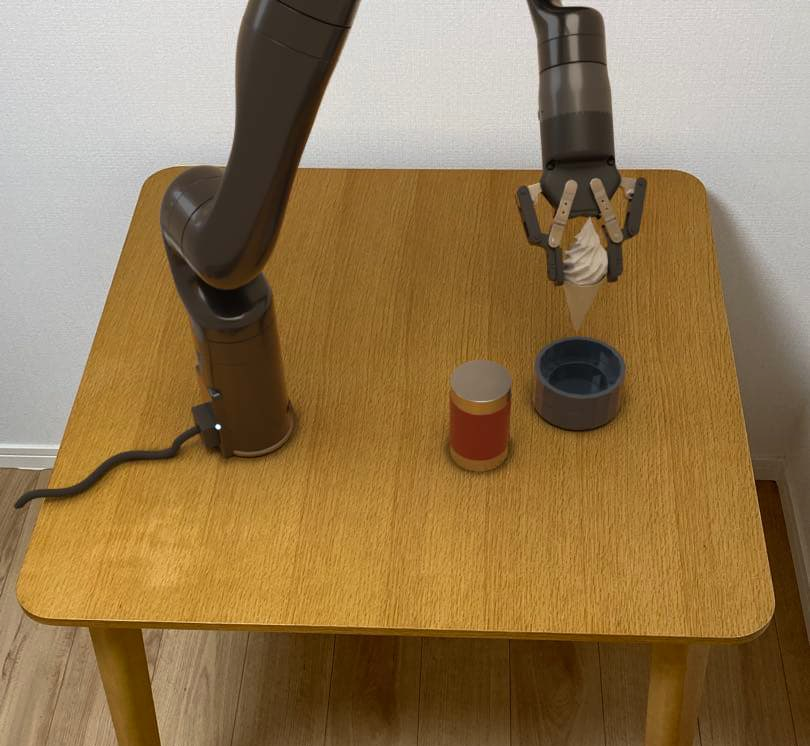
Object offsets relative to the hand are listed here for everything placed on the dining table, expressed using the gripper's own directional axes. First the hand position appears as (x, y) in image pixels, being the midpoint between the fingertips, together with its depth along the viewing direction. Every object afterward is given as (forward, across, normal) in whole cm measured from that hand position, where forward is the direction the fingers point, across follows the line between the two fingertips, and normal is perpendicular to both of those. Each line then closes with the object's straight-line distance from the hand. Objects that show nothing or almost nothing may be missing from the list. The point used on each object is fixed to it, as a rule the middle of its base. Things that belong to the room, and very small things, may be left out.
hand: (586, 282), depth 125 cm
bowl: (+12, +1, +15) cm, 19 cm away
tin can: (+17, -12, +10) cm, 23 cm away
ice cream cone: (+5, 0, +7) cm, 8 cm away
